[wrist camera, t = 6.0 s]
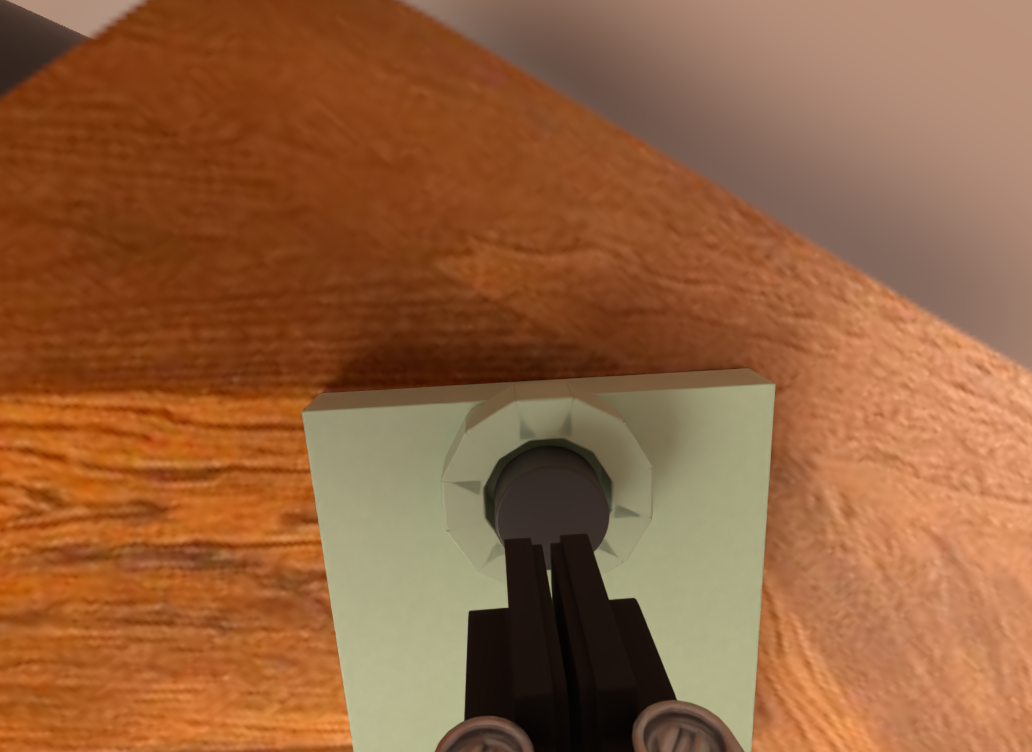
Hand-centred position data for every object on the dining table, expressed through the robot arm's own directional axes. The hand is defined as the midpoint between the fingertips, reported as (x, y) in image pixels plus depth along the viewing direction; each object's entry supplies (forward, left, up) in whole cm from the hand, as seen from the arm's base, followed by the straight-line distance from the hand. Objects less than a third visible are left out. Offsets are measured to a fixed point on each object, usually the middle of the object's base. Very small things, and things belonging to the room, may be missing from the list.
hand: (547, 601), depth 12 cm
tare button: (0, 0, -5) cm, 5 cm away
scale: (+6, 0, -8) cm, 10 cm away
